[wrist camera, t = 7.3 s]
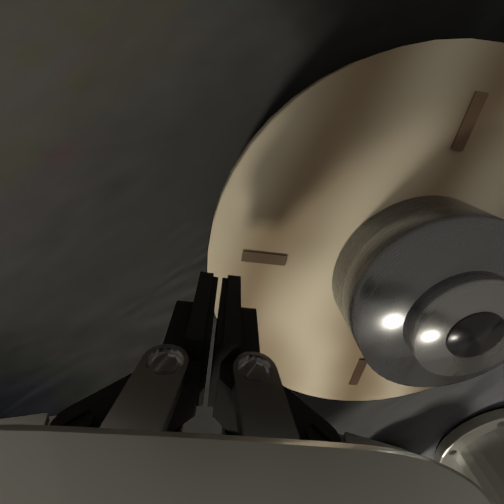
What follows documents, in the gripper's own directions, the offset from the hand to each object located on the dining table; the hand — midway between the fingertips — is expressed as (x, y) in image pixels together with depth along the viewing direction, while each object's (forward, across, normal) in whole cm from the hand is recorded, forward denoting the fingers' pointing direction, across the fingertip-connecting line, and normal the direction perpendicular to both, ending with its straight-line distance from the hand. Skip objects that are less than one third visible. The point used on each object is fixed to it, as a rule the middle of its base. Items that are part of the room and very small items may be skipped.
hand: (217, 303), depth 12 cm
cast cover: (+4, -11, -1) cm, 11 cm away
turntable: (+6, -10, -1) cm, 12 cm away
